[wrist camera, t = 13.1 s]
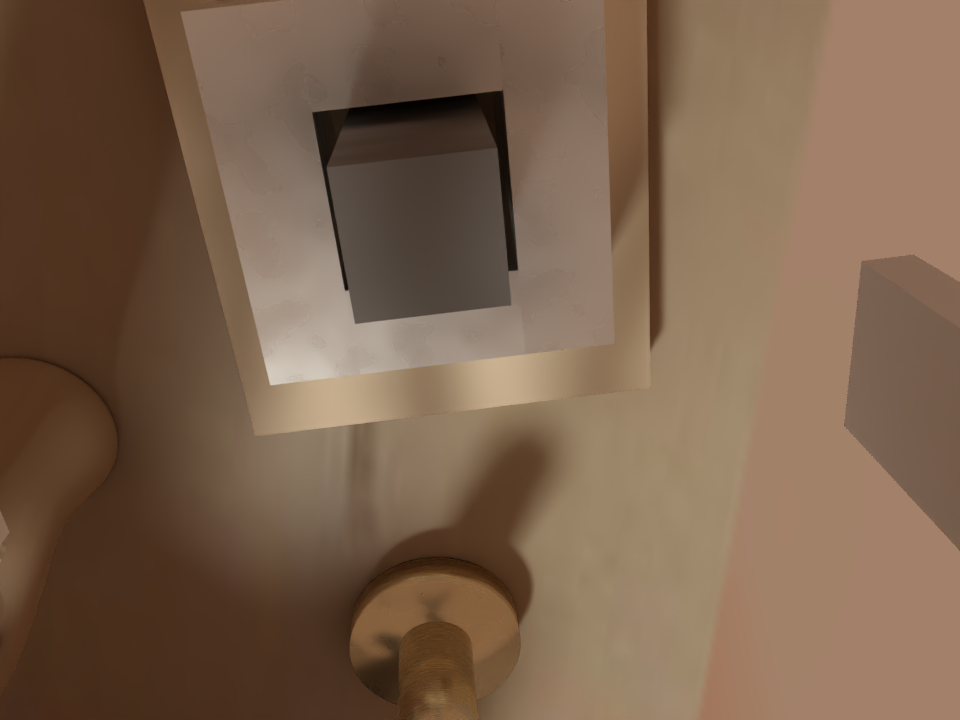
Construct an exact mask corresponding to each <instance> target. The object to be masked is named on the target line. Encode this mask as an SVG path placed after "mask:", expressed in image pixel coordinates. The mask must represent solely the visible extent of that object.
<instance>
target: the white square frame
mask: <svg viewBox="0 0 960 720" xmlns="http://www.w3.org/2000/svg"><path fill="white" fill-rule="evenodd" d="M181 16H182V20H183V25H184V29H185V33H186V37H187V41H188V45H189V50H190V54H191V58H192V62H193V66H194V70H195V75H196V79H197V83H198V87H199V91H200V95H201V99H202V104H203V108H204V112H205V116H206V120H207V124H208V129H209V133H210V137H211V141H212V145H213V149H214V154H215V158H216V162H217V166H218V170H219V174H220V179H221V183H222V187H223V191H224V195H225V199H226V203H227V208H228V212H229V216H230V220H231V224H232V228H233V233H234V237H235V241H236V245H237V249H238V253H239V258H240V262H241V266H242V270H243V274H244V278H245V283H246V287H247V291H248V295H249V299H250V303H251V307H252V312H253V316H254V320H255V324H256V328H257V332H258V337H259V341H260V345H261V349H262V353H263V357H264V362H265V366H266V370H267V374H268V378H269V382H270V385H277V384H285V383H294V382H302V381H310V380H318V379H327V378H335V377H343V376H351V375H360V374H368V373H376V372H384V371H393V370H401V369H409V368H417V367H426V366H434V365H442V364H450V363H459V362H467V361H475V360H483V359H492V358H500V357H508V356H516V355H525V354H533V353H541V352H549V351H558V350H566V349H574V348H582V347H591V346H599V345H607V344H614V316H613V283H612V251H611V218H610V186H609V153H608V121H607V88H606V56H605V23H604V0H224V1H216V2H212V3H209V4H206V5H202V6H199V7H195V8H192V9H188V10H185V11H181ZM484 92H492V95H493V107H494V118H495V129H496V140H497V150H498V161H499V172H500V183H501V194H502V205H503V217H504V228H505V239H506V250H507V261H508V272H509V283H510V295H511V305H509V306H501V307H492V308H484V309H476V310H467V311H459V312H451V313H442V314H434V315H426V316H417V317H409V318H401V319H392V320H384V321H376V322H368V323H359V324H355V321H354V316H353V310H352V305H351V299H350V294H349V288H348V283H347V277H346V272H345V266H344V261H343V255H342V250H341V244H340V239H339V233H338V228H337V222H336V217H335V211H334V206H333V200H332V195H331V189H330V184H329V178H328V173H327V165H328V163H329V160H330V157H331V155H332V152H333V150H334V147H335V145H336V139H335V133H334V127H333V121H332V116H331V110H336V109H345V108H354V107H362V106H371V105H380V104H388V103H397V102H406V101H414V100H423V99H432V98H441V97H449V96H458V95H467V94H475V93H484Z"/></svg>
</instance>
